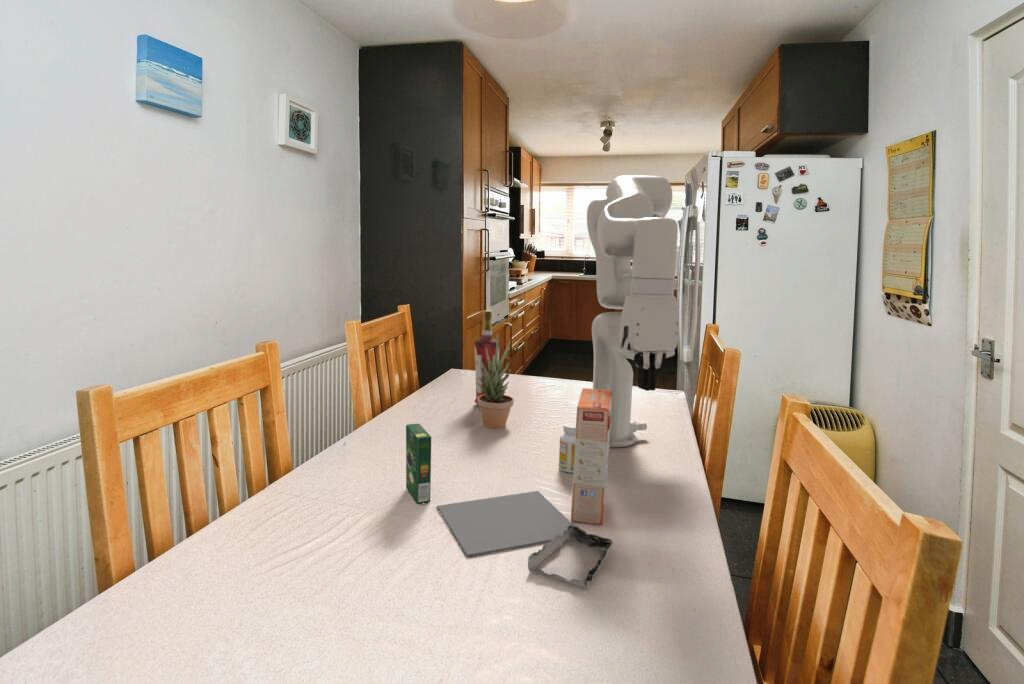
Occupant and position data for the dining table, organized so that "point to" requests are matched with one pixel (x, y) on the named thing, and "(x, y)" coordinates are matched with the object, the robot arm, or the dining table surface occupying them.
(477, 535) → the notebook
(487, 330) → the liquor
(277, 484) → the dining table surface
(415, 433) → the coffee box
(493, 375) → the potted plant
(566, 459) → the supplement bottle
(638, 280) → the robot arm
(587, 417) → the cracker box
